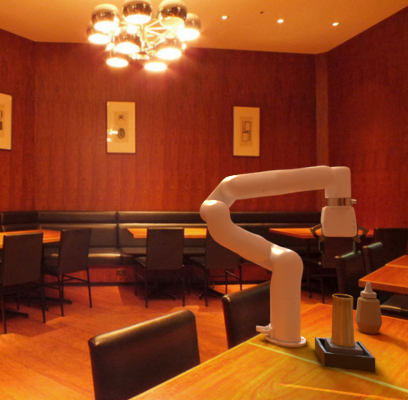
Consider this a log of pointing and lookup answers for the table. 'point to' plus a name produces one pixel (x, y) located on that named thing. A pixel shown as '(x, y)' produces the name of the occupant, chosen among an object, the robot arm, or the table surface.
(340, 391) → the table surface
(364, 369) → the crate
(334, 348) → the block
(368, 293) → the squeeze bottle
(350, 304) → the vase
